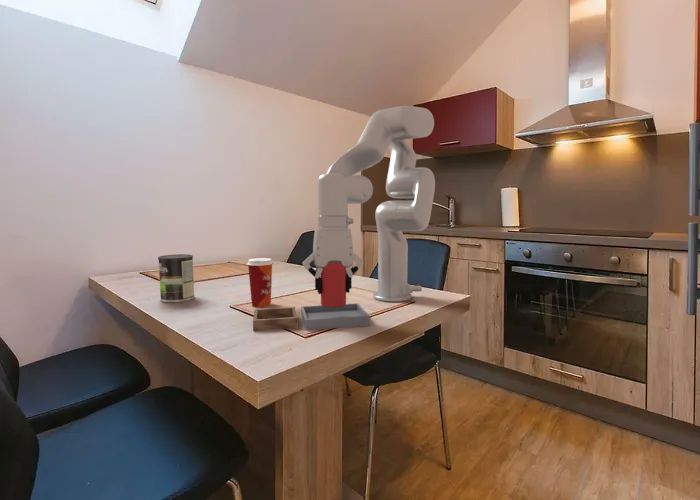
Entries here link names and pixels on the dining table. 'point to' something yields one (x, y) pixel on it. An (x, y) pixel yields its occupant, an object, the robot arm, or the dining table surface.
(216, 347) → the dining table surface
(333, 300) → the beer can
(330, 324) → the tray
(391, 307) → the dining table surface
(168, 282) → the coffee can
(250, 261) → the paper cup
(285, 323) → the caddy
